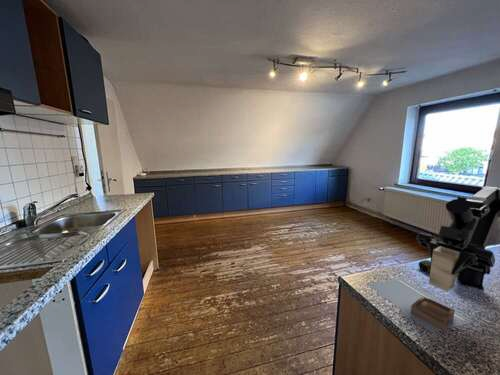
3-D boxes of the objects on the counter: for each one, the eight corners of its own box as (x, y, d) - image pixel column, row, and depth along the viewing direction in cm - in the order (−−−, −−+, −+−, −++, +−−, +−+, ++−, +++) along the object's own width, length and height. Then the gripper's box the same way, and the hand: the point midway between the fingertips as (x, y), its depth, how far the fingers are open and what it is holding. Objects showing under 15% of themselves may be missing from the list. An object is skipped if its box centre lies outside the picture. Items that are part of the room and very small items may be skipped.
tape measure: (442, 274, 93) (444, 265, 93) (431, 277, 91) (432, 268, 90) (425, 266, 100) (426, 258, 99) (414, 269, 97) (415, 261, 97)
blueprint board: (401, 280, 89) (401, 277, 89) (473, 324, 66) (474, 321, 66) (367, 286, 85) (367, 283, 85) (431, 335, 62) (431, 332, 62)
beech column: (435, 279, 76) (440, 246, 74) (454, 286, 72) (460, 252, 69) (428, 283, 74) (433, 249, 71) (447, 292, 69) (453, 256, 67)
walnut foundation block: (422, 303, 74) (423, 295, 73) (453, 318, 67) (454, 310, 67) (410, 312, 70) (411, 304, 69) (442, 329, 63) (444, 321, 62)
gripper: (421, 210, 79) (402, 247, 75) (498, 224, 63) (478, 272, 59) (429, 227, 84) (412, 262, 80) (502, 244, 68) (484, 289, 64)
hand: (441, 270), depth 71 cm, fingers closed on beech column, 5 cm apart
